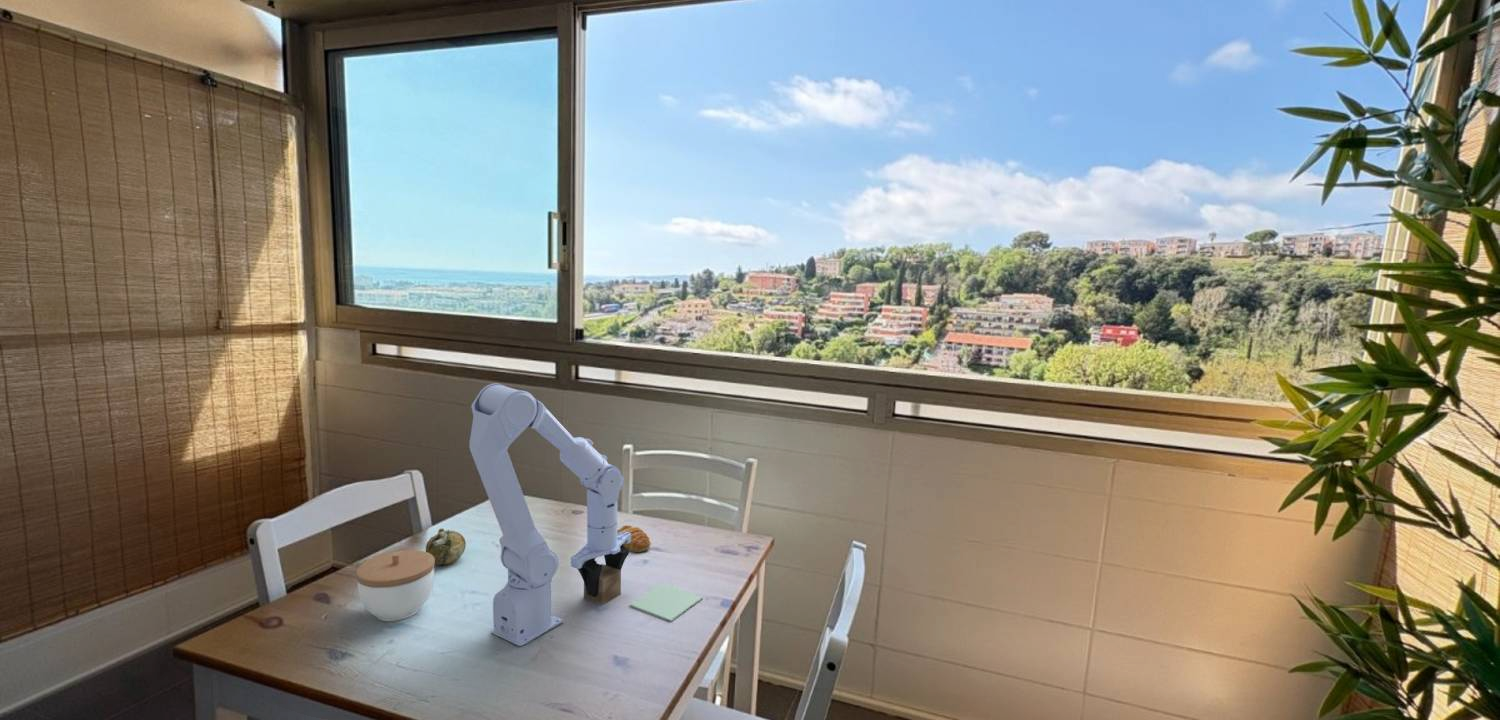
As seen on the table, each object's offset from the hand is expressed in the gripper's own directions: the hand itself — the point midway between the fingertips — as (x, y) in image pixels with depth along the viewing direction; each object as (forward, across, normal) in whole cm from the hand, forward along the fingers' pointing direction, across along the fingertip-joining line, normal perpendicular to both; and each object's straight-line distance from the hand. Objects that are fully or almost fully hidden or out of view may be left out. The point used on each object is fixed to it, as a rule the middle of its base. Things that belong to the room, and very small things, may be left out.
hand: (602, 589), depth 126 cm
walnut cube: (+1, 0, 0) cm, 1 cm away
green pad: (+1, +5, -12) cm, 13 cm away
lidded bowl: (+2, -25, +27) cm, 37 cm away
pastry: (+2, +22, +11) cm, 24 cm away
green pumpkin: (+2, -8, +38) cm, 39 cm away
